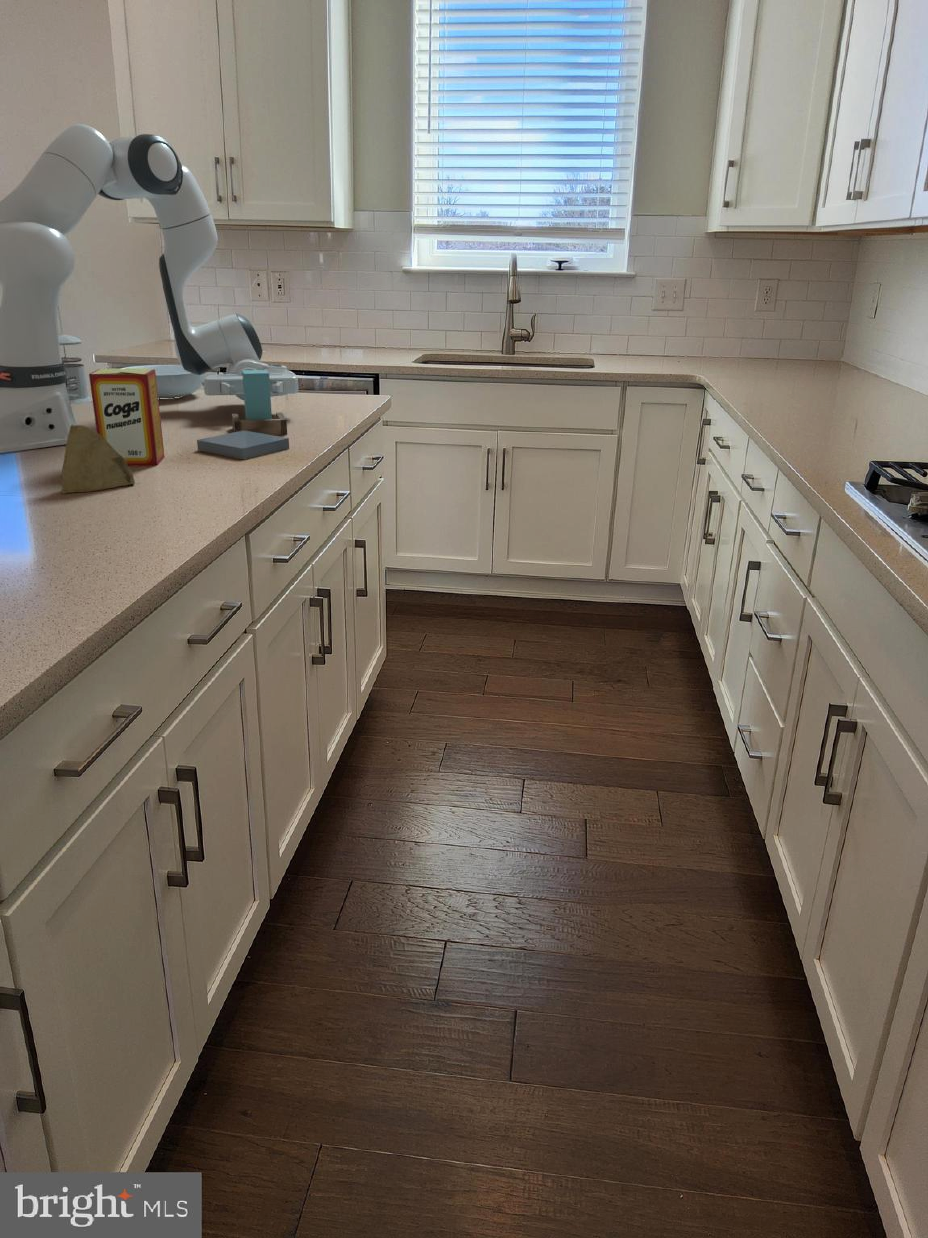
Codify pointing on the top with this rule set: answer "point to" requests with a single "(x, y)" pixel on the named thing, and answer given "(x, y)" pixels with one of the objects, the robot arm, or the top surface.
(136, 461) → the baking soda box
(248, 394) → the teal block
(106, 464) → the rock
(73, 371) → the french press
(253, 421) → the walnut cubby
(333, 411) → the top surface
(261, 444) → the slate tile
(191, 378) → the serving bowl
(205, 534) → the top surface
